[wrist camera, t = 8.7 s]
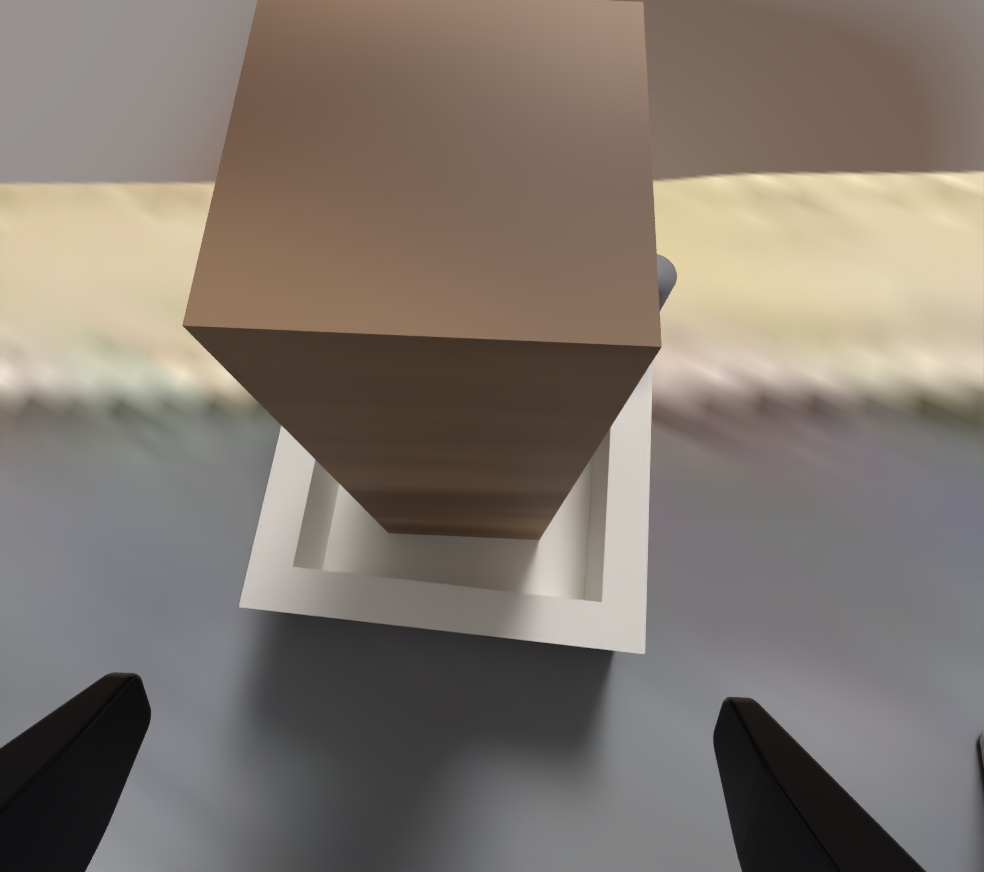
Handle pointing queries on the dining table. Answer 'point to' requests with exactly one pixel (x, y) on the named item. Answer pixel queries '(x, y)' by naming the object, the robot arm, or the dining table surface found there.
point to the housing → (469, 551)
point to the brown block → (438, 247)
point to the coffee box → (982, 746)
